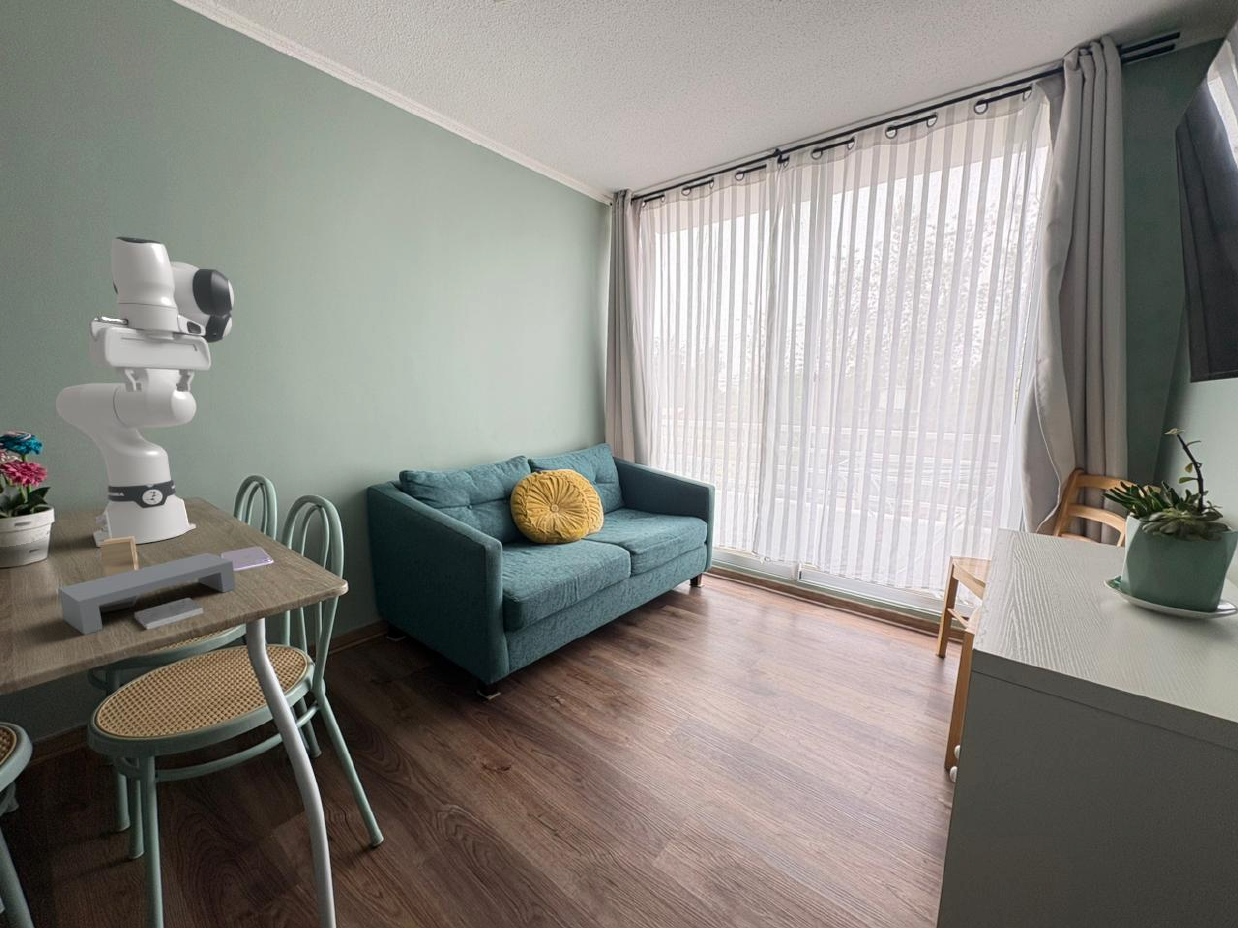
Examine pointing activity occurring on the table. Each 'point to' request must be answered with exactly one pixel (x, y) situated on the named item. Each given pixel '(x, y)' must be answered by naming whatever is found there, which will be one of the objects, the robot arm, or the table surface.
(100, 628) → the low shelf
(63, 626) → the table surface
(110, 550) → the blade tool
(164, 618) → the flat gray rectangular block
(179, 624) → the table surface
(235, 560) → the mobile phone
